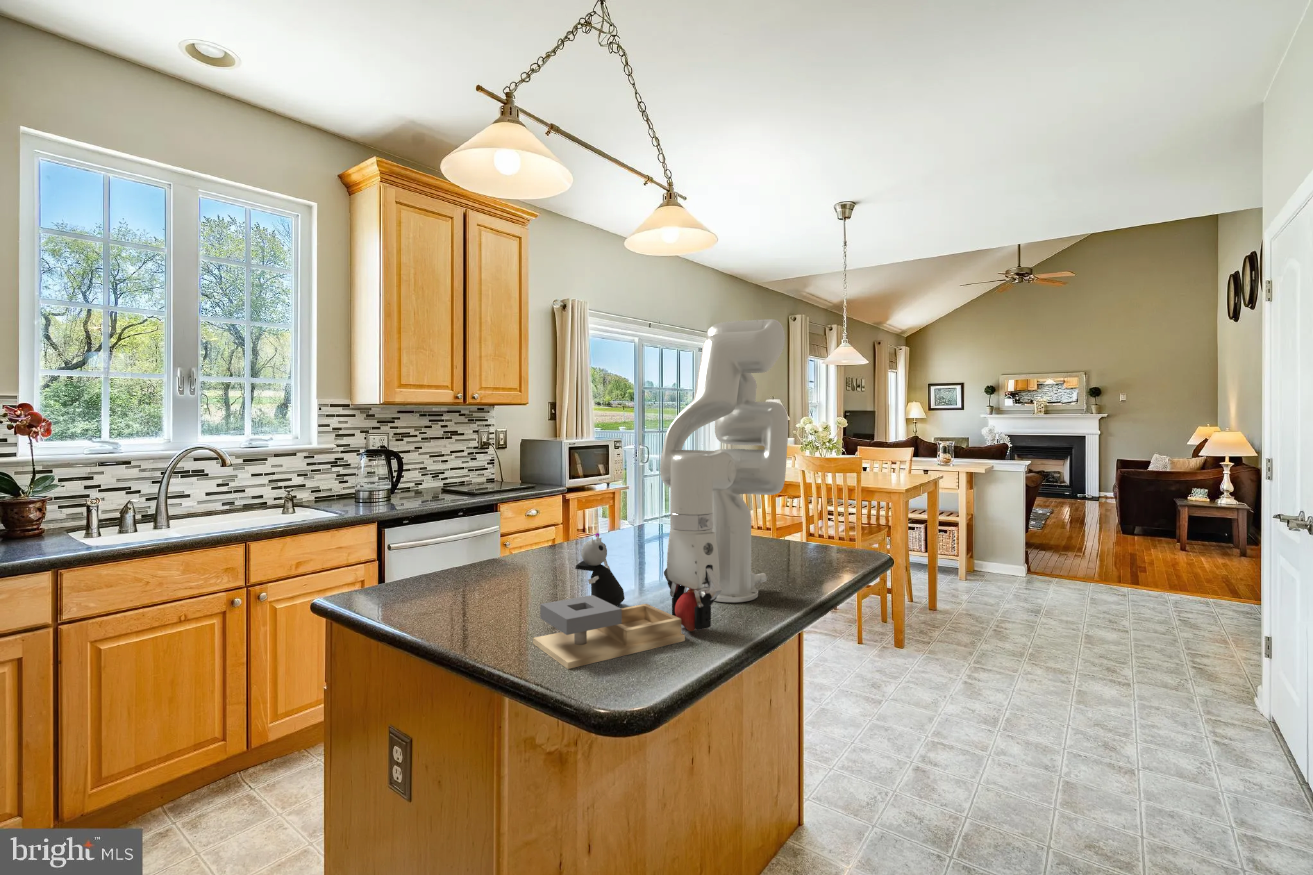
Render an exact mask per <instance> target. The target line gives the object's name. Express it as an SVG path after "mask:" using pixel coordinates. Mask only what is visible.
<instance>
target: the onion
mask: <svg viewBox="0 0 1313 875" xmlns="http://www.w3.org/2000/svg"><path fill="white" fill-rule="evenodd" d="M696 606H697V602H696V597H695V593H694V590H693V589H690V588H688V589H687V590H686V592H685V593H684V594H682V595H681V596H680V598H679V599H678V600H677V602H676V605H675V614H676V617H678V618H680V619H681V626H683V627H684V628H685V629H686V630H687V631H688V632H695V630H696V629H695V607H696Z"/></svg>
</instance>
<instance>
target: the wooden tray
mask: <svg viewBox="0 0 1313 875" xmlns="http://www.w3.org/2000/svg"><path fill="white" fill-rule="evenodd" d="M621 609H622V624H618V625H613V626H608V627H603V628H598V629H593V630H589V631H584V632H579V633H574V634H569V635H566V634H564V633H563V632H561V631H559V632H556V633H552V634H550V633H549V634H546V635H545V634H544V635H541V636H536V637H532V642H533V643H532V644H533V645H534V646H535V647H536V648H538V649H539V650H541V651H543V652H544V653H545V654H547V655H548V656H549V658H550V657H551V659H553V660H555V661H556V662H557V663H559V664H560V665H562V667H564V668H565V669H567V670H570V669H574V668H577V667H582V666H586V665H591V664H594V663H598V662H603V661H608V660H611V659H616V658H620V657H624V656H628V655H632V654H636V653H640V652H644V651H648V650H653V649H658V648H662V647H665V646H669V645H670V646H671V645H674V644H678V643H682V642H686V641H685V640H686V635H685V634H683V633H682V624H681V619H680V618H678V617H676V616H673V615H672V613H668V612H666V611H664V610H662V609H659V608H657V607H656V606H652V605H650V604H648V603H643V604H638V605H632V606H626V607H621Z"/></svg>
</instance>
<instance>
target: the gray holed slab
mask: <svg viewBox="0 0 1313 875" xmlns="http://www.w3.org/2000/svg"><path fill="white" fill-rule="evenodd" d="M621 608H622V607H621ZM621 608H620V607H619V606H615V605H612V604H610V603H608V602H606V601H604V600H602V599H600V598H598V597H596V596H594V595H591V594H590V595H585V596H580V597H574V598H568V599H562V600H556V601H551V602H550V601H549V602H544V603H540V610H539V612H540V616H539V617H540V619H541V620H542V621H544V622H545V623H547V624H549V625H550V626H551V627H554V628H555V629H556V630H558V631H559V632H563V633H564V634H566V635H569V634H574V633H579V632H584V631H589V630H593V629H598V628H603V627H608V626H613V625H618V624H622V609H621Z"/></svg>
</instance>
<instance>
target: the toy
mask: <svg viewBox="0 0 1313 875" xmlns="http://www.w3.org/2000/svg"><path fill="white" fill-rule="evenodd" d="M594 536H595V539H594V538H592V537H591V539H590V540H588V541H586V542H585V543H584V544H583V546H582V548H581V551H580V554H581V558H582V561H580V562H579V563H576V564H575V570H580V571H587V572H592V573H591V575H590V578H588V579H587V581H588V584H589V585H590V595H594V596H596V597H598V598H600V599H602V600H604V601H606V602H608V603H610V604H612V605H615V606H617V607H619V606H620V605H621V604H622V603H623V601H624V600H625V592H624V589H623V587H622V585H621V584H620V583H619V581H618V580H617V578H616V576H615V575H614V574H613V572H612V570H611V568H610V565H609V564H608V561H607V556H608V549H607V545H606V544H605V543H604V542H603V541H602V537H600V533H595V535H594Z"/></svg>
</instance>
